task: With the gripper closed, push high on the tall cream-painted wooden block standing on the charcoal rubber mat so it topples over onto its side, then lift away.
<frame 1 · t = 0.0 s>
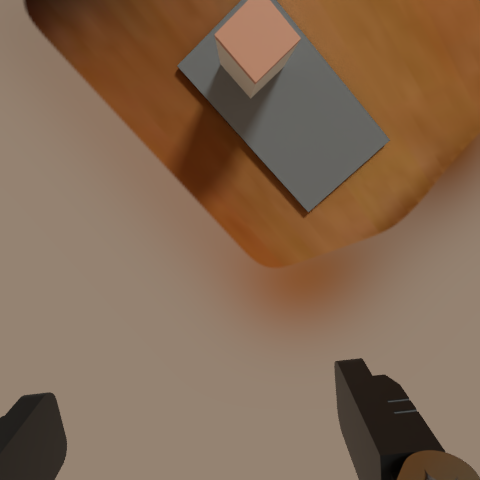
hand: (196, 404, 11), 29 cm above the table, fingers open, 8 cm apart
cream block: (252, 65, 36), resting on slate mat
slate mat: (285, 104, 37), on the table
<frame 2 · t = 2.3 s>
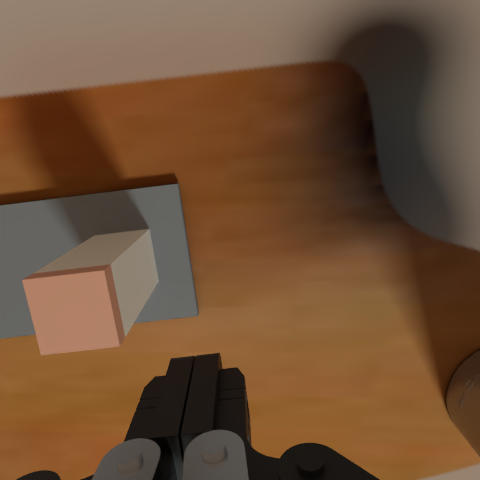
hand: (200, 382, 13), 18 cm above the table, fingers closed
cream block: (127, 258, 30), resting on slate mat
slate mat: (69, 264, 30), on the table
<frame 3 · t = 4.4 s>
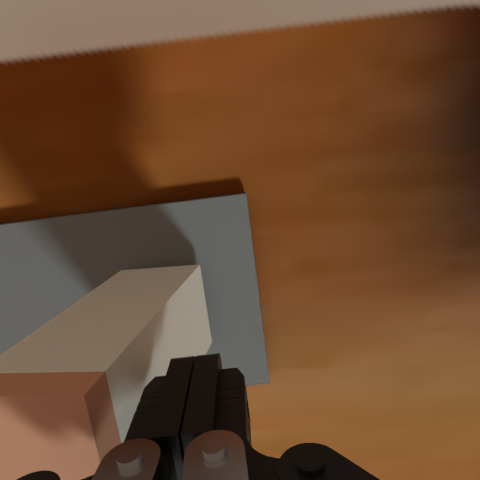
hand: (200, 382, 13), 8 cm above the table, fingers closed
cream block: (166, 306, 20), point 1 cm above the table, tilted 10°, touching gripper, slate mat
slate mat: (84, 311, 21), on the table
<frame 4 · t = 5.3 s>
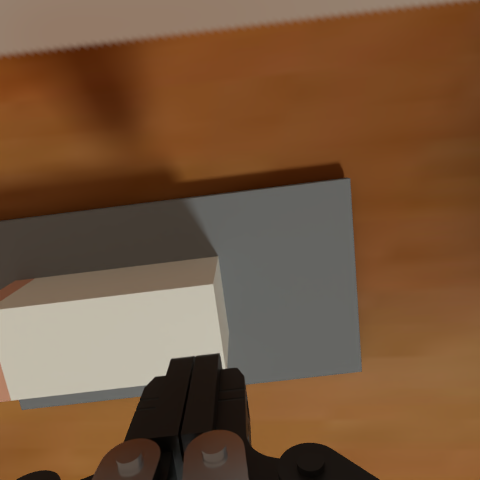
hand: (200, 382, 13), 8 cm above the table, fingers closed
cream block: (222, 311, 18), point 2 cm above the table, tilted 90°, touching slate mat
slate mat: (176, 298, 21), on the table
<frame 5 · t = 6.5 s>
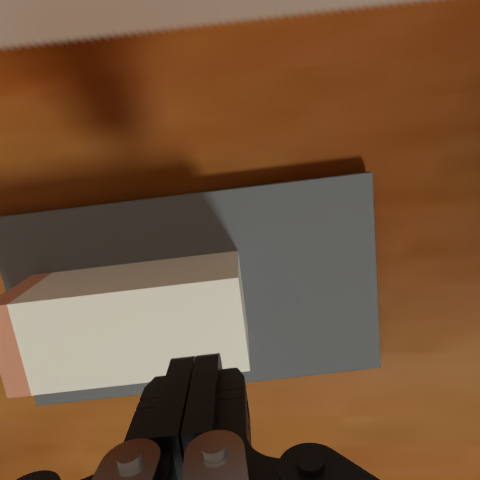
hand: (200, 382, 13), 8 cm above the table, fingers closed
cream block: (243, 305, 18), point 2 cm above the table, tilted 90°, touching slate mat
slate mat: (194, 293, 20), on the table
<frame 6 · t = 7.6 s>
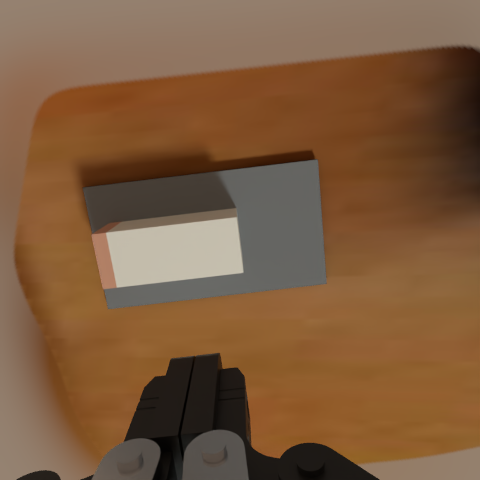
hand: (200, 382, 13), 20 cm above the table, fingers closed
cream block: (239, 238, 30), point 2 cm above the table, tilted 90°, touching slate mat
slate mat: (209, 235, 32), on the table
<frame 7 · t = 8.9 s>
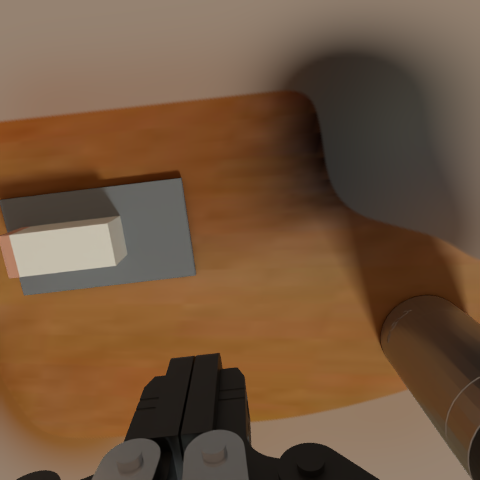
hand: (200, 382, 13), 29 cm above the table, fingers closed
cream block: (118, 239, 39), point 2 cm above the table, tilted 90°, touching slate mat
slate mat: (101, 237, 41), on the table
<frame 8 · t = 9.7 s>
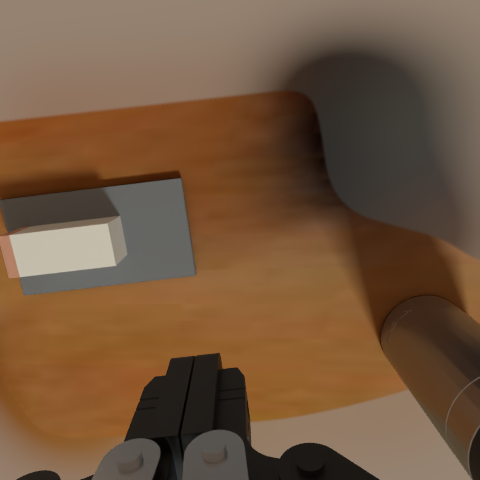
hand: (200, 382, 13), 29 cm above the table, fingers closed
cream block: (118, 239, 39), point 2 cm above the table, tilted 90°, touching slate mat
slate mat: (101, 237, 41), on the table
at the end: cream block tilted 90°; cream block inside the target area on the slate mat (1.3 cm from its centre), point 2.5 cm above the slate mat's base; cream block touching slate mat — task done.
